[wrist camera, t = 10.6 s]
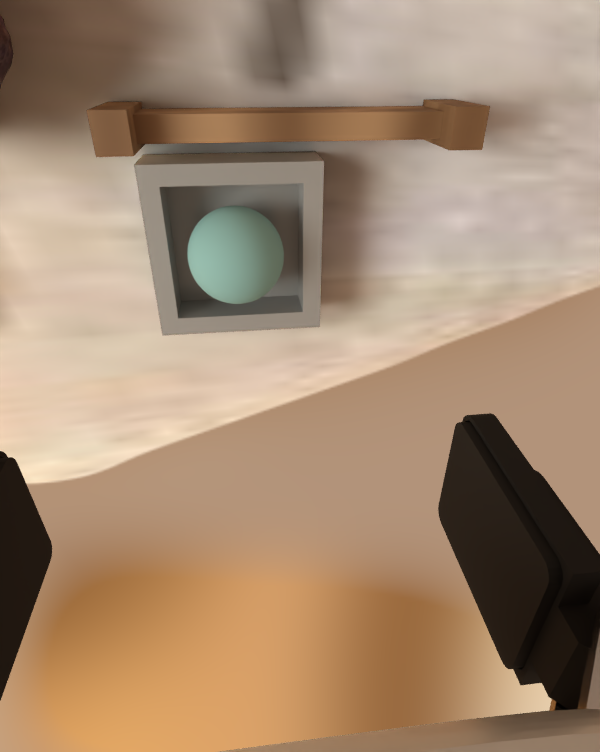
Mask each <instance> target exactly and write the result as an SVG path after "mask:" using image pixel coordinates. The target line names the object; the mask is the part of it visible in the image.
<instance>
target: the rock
mask: <svg viewBox="0 0 600 752" xmlns="http://www.w3.org/2000/svg"><path fill="white" fill-rule="evenodd" d="M12 58H13V50H12V44H11V38H10V35H9V33H8V31H7V30H6V28H5V25H4V20H3V19H2V17H1V16H0V87H1V84H2V81H3V79H4V77H5V75H6V73H7V71H8V69H9V68H10V66H11V63H12Z"/></svg>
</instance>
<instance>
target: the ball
mask: <svg viewBox="0 0 600 752" xmlns="http://www.w3.org/2000/svg"><path fill="white" fill-rule="evenodd" d="M187 254H188V263H189V267H190V270H191V273H192V275H193V277H194V279H195V281H196V282H197V284H198V285H199V286H200V287H201V288H202V289H203V290H204V291H205V292H206V293H207V294H208V295H210V296H211V297H213V298H215V299H217V300H219V301H222V302H226V303H231V304H244V303H249V302H252V301H255V300H257V299H259V298H261V297H262V296H264V295H265V294H266V293H268V292H269V291H270V290H271V289H272V288H273V286H274V285H275V284H276V282H277V281H278V279H279V277H280V274H281V271H282V268H283V263H284V250H283V245H282V241H281V238H280V236H279V234H278V232H277V230H276V228H275V227H274V225H273V224H272V223H271V222H270V221H269V220H268V219H267V218H266V217H265V216H263V215H262V214H261V213H259V212H257V211H255V210H253V209H251V208H248V207H243V206H225V207H221V208H218V209H216V210H214V211H212V212H210V213H208V214H207V215H206V216H204V217H203V218H202V219H201V220H200V221H199V222H198V224H197V225H196V226H195V228H194V230H193V232H192V234H191V236H190V239H189V243H188V253H187Z"/></svg>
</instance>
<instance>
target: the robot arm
mask: <svg viewBox="0 0 600 752" xmlns="http://www.w3.org/2000/svg"><path fill="white" fill-rule="evenodd" d="M438 509H439V517H440V521H441V524H442V526H443V528H444V530H445V532H446V535H447V537H448V539H449V542H450V544H451V546H452V549H453V551H454V553H455V556H456V558H457V560H458V562H459V565H460V567H461V569H462V572H463V574H464V576H465V578H466V581H467V583H468V585H469V587H470V590H471V592H472V594H473V597H474V599H475V601H476V603H477V605H478V608H479V610H480V612H481V615H482V617H483V619H484V622H485V624H486V626H487V628H488V631H489V633H490V635H491V638H492V640H493V642H494V644H495V647H496V649H497V651H498V653H499V656H500V658H501V660H502V662H503V664H504V665H505V667H506V668H508V669H514V671H515V674H516V676H517V678H518V680H519V683H520V685H526V684H534V683H542V684H543V686H544V688H545V690H546V692H547V694H548V696H549V697H550V698H551V699H552V701H551V706H550V710H549V711H541V712H532V713H523V714H514V715H505V716H495V717H486V718H477V719H468V720H459V721H451V722H443V723H435V724H428V725H420V726H412V727H404V728H396V729H388V730H381V731H373V732H365V733H358V734H350V735H342V736H334V737H326V738H318V739H311V740H303V741H296V742H289V743H281V744H274V745H266V746H258V747H251V748H243V749H236V750H229V751H222V752H600V554H599V553H598V551H597V550H596V549H595V547H594V546H593V545H592V543H591V542H590V540H589V539H588V538H587V536H586V535H585V534H584V532H583V531H582V529H581V528H580V527H579V525H578V524H577V522H576V521H575V520H574V518H573V517H572V516H571V514H570V513H569V511H568V510H567V509H566V507H565V506H564V505H563V503H562V502H561V500H560V499H559V498H558V496H557V495H556V494H555V492H554V491H553V490H552V488H551V487H550V485H549V484H548V482H547V481H546V480H545V478H544V477H543V476H542V475H541V474H540V473H539V472H537V471H535V470H534V469H533V468H532V466H531V465H530V464H529V462H528V461H527V459H526V458H525V457H524V455H523V454H522V452H521V451H520V450H519V448H518V447H517V445H516V444H515V443H514V441H513V440H512V439H511V437H510V436H509V434H508V433H507V431H506V430H505V429H504V427H503V426H502V424H501V423H500V422H499V420H498V419H497V418H496V416H495V415H494V414H479V415H467V416H465V417H464V418H463V421H462V422H461V423H460V422H459V423H457V424H456V426H455V430H454V435H453V440H452V444H451V450H450V454H449V459H448V463H447V468H446V473H445V478H444V482H443V488H442V492H441V497H440V502H439V508H438ZM51 556H52V545H51V541H50V538H49V536H48V534H47V532H46V529H45V527H44V524H43V522H42V520H41V518H40V515H39V513H38V511H37V508H36V506H35V503H34V501H33V499H32V497H31V494H30V492H29V489H28V487H27V485H26V483H25V480H24V478H23V476H22V473H21V471H20V469H19V466H18V464H17V462H16V460H15V459H14V458H11V457H10V458H8V457H7V455H6V454H5V453H4V452H2V451H0V700H1V697H2V695H3V692H4V689H5V686H6V683H7V680H8V678H9V675H10V672H11V669H12V667H13V664H14V661H15V658H16V655H17V653H18V649H19V647H20V644H21V641H22V639H23V636H24V633H25V630H26V627H27V625H28V622H29V619H30V616H31V613H32V611H33V608H34V605H35V602H36V599H37V597H38V594H39V591H40V588H41V585H42V583H43V580H44V577H45V574H46V571H47V569H48V566H49V563H50V559H51Z"/></svg>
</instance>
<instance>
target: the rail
mask: <svg viewBox="0 0 600 752" xmlns="http://www.w3.org/2000/svg"><path fill="white" fill-rule="evenodd" d="M489 109H490V106H485V105H480V104H475V103H469V102H464V101H459V100H454V99H441V100H424V102H423V106H383V107H271V108H159V109H142V103H141V102H107V103H104V104H101V105H99V106H96V107H93V108H91V109H88V110H87V115H88V120H89V125H90V130H91V134H92V139H93V144H94V149H95V154H96V157H113V156H134V155H135V154H136V153H137V152H138V151H139V150H140V149H141V148H142V147H143V146H144V145H145V144H166V143H229V142H291V141H353V140H416V139H424V140H426V141H429V142H431V143H433V144H436V145H438V146H441V147H443V148H445V149H448V150H482V147H483V142H484V136H485V131H486V126H487V120H488V115H489Z"/></svg>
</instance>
